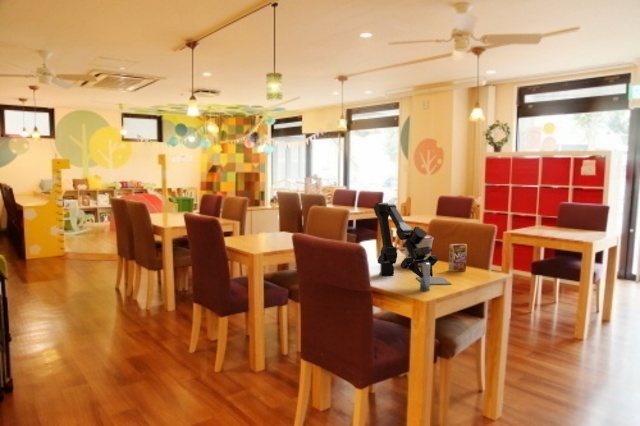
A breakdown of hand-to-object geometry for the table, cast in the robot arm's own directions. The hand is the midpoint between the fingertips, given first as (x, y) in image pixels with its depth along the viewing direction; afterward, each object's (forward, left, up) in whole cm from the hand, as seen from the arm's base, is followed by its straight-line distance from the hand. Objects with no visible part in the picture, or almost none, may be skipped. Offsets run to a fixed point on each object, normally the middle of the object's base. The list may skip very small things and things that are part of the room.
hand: (427, 276), depth 209 cm
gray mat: (+8, +17, -7) cm, 20 cm away
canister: (+11, +57, -7) cm, 59 cm away
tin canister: (-1, +1, -7) cm, 7 cm away
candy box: (+29, +40, -7) cm, 50 cm away
